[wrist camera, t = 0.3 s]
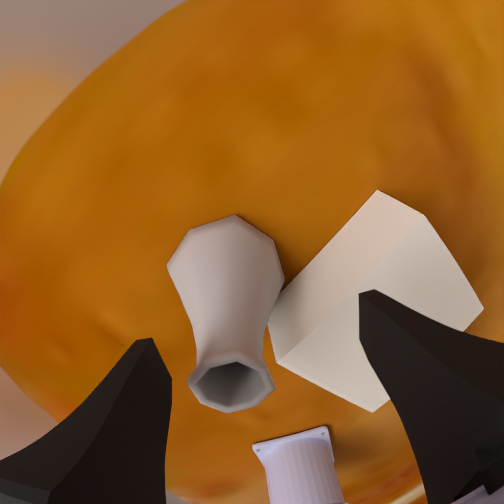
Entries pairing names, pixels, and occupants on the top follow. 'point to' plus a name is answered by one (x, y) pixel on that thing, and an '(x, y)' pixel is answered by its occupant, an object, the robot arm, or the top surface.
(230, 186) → the top surface
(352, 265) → the socket block
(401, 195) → the top surface
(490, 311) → the top surface
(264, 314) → the flask
